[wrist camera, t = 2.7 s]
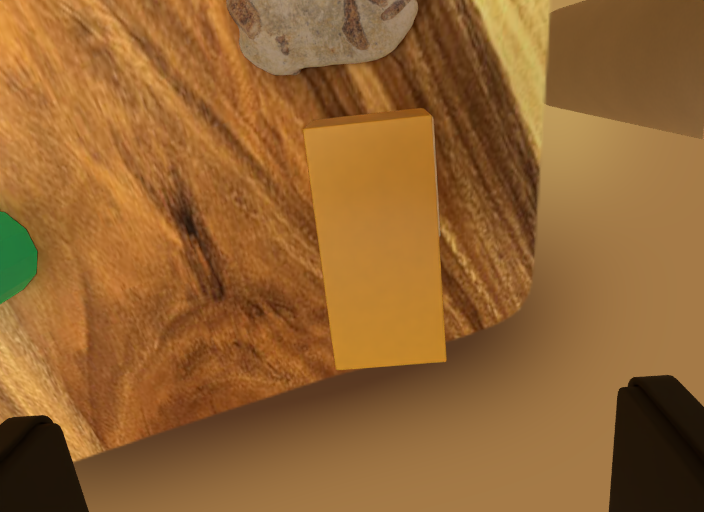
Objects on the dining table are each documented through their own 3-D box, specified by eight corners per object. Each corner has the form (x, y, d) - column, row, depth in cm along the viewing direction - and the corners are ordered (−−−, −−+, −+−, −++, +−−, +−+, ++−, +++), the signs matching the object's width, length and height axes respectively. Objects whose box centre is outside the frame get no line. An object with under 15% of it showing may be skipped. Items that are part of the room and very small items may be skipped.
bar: (423, 107, 21) (431, 114, 18) (437, 325, 24) (446, 362, 21) (312, 119, 21) (302, 128, 18) (340, 333, 24) (335, 370, 21)
